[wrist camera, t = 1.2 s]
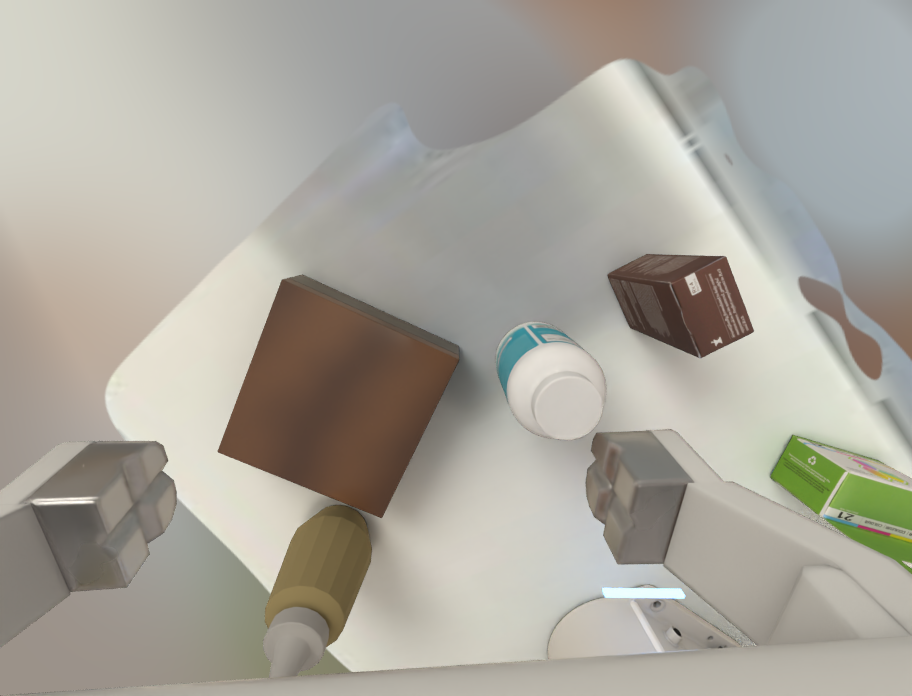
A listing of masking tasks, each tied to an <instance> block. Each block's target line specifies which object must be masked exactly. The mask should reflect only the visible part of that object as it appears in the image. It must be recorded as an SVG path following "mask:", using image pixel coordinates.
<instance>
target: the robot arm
mask: <svg viewBox="0 0 912 696" xmlns="http://www.w3.org/2000/svg"><path fill="white" fill-rule="evenodd" d="M591 451H592V453H593V455H594V457H595V458H596V461H595V462H594V463H593V464H592V465H591V466H590V467H589V468H588V469H587V476H586V495H587V500H588V503H589V507H590V509H591V511H592V513H593V516H594V517H595V518H596V519H598V520H599V521H600V522H602V523H603V524H605V528H604V533H603V536H604V538H605V540H606V542H607V544H608V546H609V548H610V550H611V552H612V554H613V556H614V558H615V560H616V562H617V564H664V565H663V566H664V567H665V568H666V569H667V570H669V571H670V572H671V573H672V574H673V575H675V576H676V577H677V578H678V579H679V580H681V581H682V582H683V583H684V584H685V585H686V586H688V587H689V588H690V589H691V590H692V591H694V592H695V593H696V594H697V595H698V596H700V597H701V598H702V599H703V600H704V601H705V602H707V603H708V604H709V605H710V606H711V607H713V608H714V609H715V610H716V611H717V612H719V613H720V614H721V615H722V616H723V617H724V618H726V619H727V620H728V621H729V622H730V623H732V624H733V625H734V626H735V627H736V628H738V629H739V630H740V631H741V632H742V633H743V634H745V635H746V636H747V637H748V638H749V639H751V640H752V641H753V642H754V643H755V644H757V645H758V646H746V647H741V646H740V644H739V643H738V642H736V641H735V640H733V639H732V638H730V637H729V636H727V635H726V634H725V633H723V632H722V631H720V630H719V629H717V628H716V627H714V626H713V625H711V624H710V623H708V622H707V621H705V620H704V619H702V618H701V617H699V616H698V615H696V614H695V613H693V612H692V611H690V610H689V609H687V608H686V607H684V606H683V605H681V604H680V603H678V602H677V601H675V600H674V599H672V598H685V595H684V593H683V592H682V590H681V589H657V588H656V587H654V586H652V585H643V586H640V587H638V588H602V591H603V594H604V596H605V598H600V599H596V600H592V601H589V602H587V603H585V604H582V605H580V606H579V607H577V608H575V609H574V610H572V611H571V612H569V613H568V614H567V615H566V616H565V617H564V618H563V619H562V620H561V621H560V622H559V623H558V624H557V626H556V627H555V629H554V631H553V633H552V635H551V637H550V640H549V644H548V660H533V661H517V662H502V663H487V664H472V665H457V666H441V667H426V668H411V669H396V670H381V671H366V672H350V673H335V674H320V675H305V676H290V677H275V678H259V679H244V680H230V681H213V682H198V683H183V684H168V685H153V686H137V687H122V688H106V689H91V690H76V691H62V692H47V693H46V692H45V693H30V694H16V695H0V696H912V574H911V573H910V572H908V571H907V570H906V569H905V568H904V567H903V566H901V565H900V564H899V563H898V562H897V561H895V560H894V559H892V558H890V557H888V556H886V555H883V554H881V553H879V552H877V551H875V550H873V549H871V548H869V547H867V546H865V545H863V544H861V543H859V542H857V541H854V540H852V539H850V538H848V537H846V536H844V535H842V534H840V533H838V532H836V531H834V530H832V529H830V528H827V527H825V526H823V525H821V524H819V523H817V522H815V521H813V520H811V519H809V518H807V517H805V516H803V515H801V514H798V513H796V512H794V511H792V510H790V509H788V508H786V507H784V506H782V505H780V504H778V503H776V502H774V501H771V500H769V499H767V498H765V497H763V496H761V495H759V494H757V493H755V492H753V491H751V490H749V489H747V488H745V487H742V486H740V485H738V484H736V483H734V482H724V481H723V480H722V479H721V478H720V477H719V476H718V475H717V474H716V473H715V471H714V470H713V469H712V468H711V467H710V466H709V465H708V464H707V463H706V462H705V461H704V460H703V459H702V458H701V457H700V456H699V455H698V454H697V453H696V451H695V450H694V449H693V448H692V447H691V446H690V445H689V444H688V443H687V442H686V441H685V440H684V439H683V438H682V437H681V436H680V435H679V434H678V432H676V431H673V430H671V429H664V430H646V431H632V432H605V433H596V435H595V437H594V439H593V442H592V447H591ZM167 462H168V458H167V455H166V452H165V449H164V446H163V445H162V444H160V443H158V442H156V441H98V442H95V441H81V442H67V443H63V444H58V445H57V446H56V447H55V448H53V449H52V450H51V451H50V452H48V453H47V454H46V455H45V456H44V457H42V458H41V459H40V460H38V461H37V462H36V463H35V464H33V465H32V466H31V467H30V468H29V469H27V470H26V471H25V472H23V473H22V474H21V475H20V476H18V477H17V478H16V479H15V480H13V481H12V482H11V483H10V484H8V485H7V486H6V487H5V488H3V489H2V490H1V491H0V648H1V647H2V646H3V645H5V644H6V643H7V642H9V641H10V640H11V639H13V638H14V637H15V636H17V635H18V634H19V633H21V632H22V631H23V630H25V629H26V628H27V627H28V626H30V625H31V624H32V623H34V622H35V621H36V620H38V619H39V618H40V617H42V616H43V615H44V614H46V613H47V612H48V611H50V610H51V609H52V608H54V607H55V606H56V605H58V604H59V603H60V602H62V601H63V600H64V599H65V598H67V597H68V596H69V595H70V592H75V591H87V590H88V591H89V590H102V589H114V588H127V587H128V586H129V584H130V583H131V581H132V580H133V578H134V577H135V575H136V574H137V572H138V571H139V569H140V568H141V566H142V565H143V563H144V562H145V560H146V559H147V557H148V556H149V555H150V552H149V548H148V543H150V542H151V541H153V540H154V539H156V538H157V537H159V536H160V535H162V534H163V533H164V532H165V530H166V528H167V527H168V526H169V524H170V522H171V521H172V518H173V515H174V511H175V508H176V504H177V492H176V487H175V483H174V480H173V479H172V478H170V477H169V476H168V475H167V474H166V473H164V472H163V471H162V470H163V468H164V467H165V465H166V463H167ZM656 601H657V602H656Z"/></svg>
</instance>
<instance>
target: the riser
mask: <svg viewBox="0 0 912 696" xmlns="http://www.w3.org/2000/svg"><path fill="white" fill-rule="evenodd" d="M458 361H459V346H458V345H455V344H453V343H451V342H449V341H447V340H445V339H442V338H440V337H438V336H436V335H434V334H431V333H429V332H427V331H425V330H423V329H420V328H418V327H416V326H414V325H412V324H409V323H407V322H405V321H403V320H401V319H398V318H396V317H394V316H392V315H390V314H388V313H385V312H383V311H381V310H379V309H377V308H374V307H372V306H370V305H368V304H366V303H363V302H361V301H359V300H357V299H355V298H352V297H350V296H348V295H346V294H344V293H341V292H339V291H337V290H335V289H333V288H331V287H328V286H326V285H324V284H322V283H320V282H317V281H315V280H313V279H311V278H309V277H306V276H304V275H299V276H295V277H290V278H287V279H282V281H281V283H280V286H279V289H278V291H277V294H276V297H275V300H274V302H273V305H272V308H271V310H270V313H269V316H268V318H267V321H266V324H265V326H264V329H263V332H262V334H261V337H260V340H259V342H258V345H257V348H256V350H255V353H254V356H253V358H252V361H251V364H250V366H249V369H248V372H247V374H246V377H245V380H244V382H243V385H242V388H241V390H240V393H239V396H238V398H237V401H236V404H235V406H234V409H233V412H232V414H231V417H230V420H229V422H228V425H227V428H226V430H225V433H224V436H223V438H222V441H221V444H220V446H219V449H218V452H219V453H221V454H224V455H226V456H229V457H231V458H234V459H236V460H239V461H241V462H243V463H246V464H248V465H251V466H253V467H256V468H258V469H261V470H263V471H266V472H268V473H271V474H273V475H276V476H278V477H281V478H283V479H286V480H288V481H291V482H293V483H296V484H298V485H301V486H303V487H306V488H308V489H311V490H313V491H315V492H318V493H320V494H323V495H325V496H328V497H330V498H333V499H335V500H338V501H340V502H343V503H345V504H348V505H350V506H353V507H355V508H358V509H360V510H363V511H365V512H368V513H370V514H373V515H375V516H378V517H380V518H382V517H383V515H384V513H385V511H386V509H387V507H388V505H389V502H390V500H391V498H392V496H393V494H394V492H395V490H396V488H397V486H398V484H399V482H400V480H401V478H402V476H403V474H404V472H405V470H406V468H407V466H408V464H409V462H410V460H411V457H412V455H413V453H414V451H415V449H416V447H417V445H418V443H419V441H420V439H421V437H422V435H423V433H424V431H425V429H426V427H427V425H428V423H429V421H430V419H431V417H432V415H433V412H434V410H435V408H436V406H437V404H438V402H439V400H440V398H441V396H442V394H443V392H444V390H445V388H446V386H447V384H448V382H449V380H450V378H451V376H452V374H453V372H454V370H455V368H456V365H457V363H458Z"/></svg>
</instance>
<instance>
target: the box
mask: <svg viewBox="0 0 912 696" xmlns="http://www.w3.org/2000/svg"><path fill="white" fill-rule="evenodd" d="M608 278H609V280H610V283H611V285H612V288H613V290H614V292H615V294H616V297H617V299H618V301H619V304H620V306H621V308H622V310H623V313H624V315H625V317H626V319H627V322H628V324H629V326H630V328H632V329H634V330H636V331H638V332H641V333H643V334H645V335H648V336H650V337H652V338H655V339H657V340H659V341H662V342H664V343H666V344H669V345H671V346H673V347H675V348H678V349H680V350H682V351H685V352H686V353H689V354H692V355H694V356H696V357H698V358H702V357H704V356H706V355H708V354H710V353H712V352H714V351H716V350H718V349H720V348H722V347H724V346H726V345H729V344H731V343H733V342H735V341H737V340H739V339H741V338H743V337H745V336H747V335H749V334H751V333H752V332H754V330H753V327H752V324H751V322H750V319H749V316H748V314H747V311H746V308H745V305H744V303H743V300H742V298H741V295H740V292H739V290H738V287H737V284H736V282H735V279H734V276H733V274H732V271H731V269H730V266H729V263H728V261H727V258H726V257H725V256H691V255H656V254H646V255H644V256H642V257H640V258H638V259H636V260H634V261H632V262H630V263H628V264H627V265H624V266H622V267H621V268H619V269H617V270H615V271H613V272H611V273H609V274H608Z"/></svg>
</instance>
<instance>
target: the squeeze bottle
mask: <svg viewBox="0 0 912 696" xmlns="http://www.w3.org/2000/svg"><path fill="white" fill-rule="evenodd" d="M371 552H372V547H371V543H370V538H369V533H368V529H367V526H366V523H365V520H364V518H363V517H362V516H361V515H360V514H359V513H358V512H357V511H356V510H354V509H352V508H350V507H348V506H341V505H334V506H330V507H326V508H324V509H323V510H322V511H320V512H319V513H317V514H316V515H315V516H313V517H312V518H311V519H309V520H308V521H307V522H305V523H304V524H303V525H301V526H300V527H299V528H298V529H297V531H296V532H295V534H294V536H293V538H292V540H291V542H290V545H289V547H288V550H287V553H286V555H285V558H284V561H283V563H282V566H281V569H280V571H279V574H278V576H277V579H276V582H275V584H274V587H273V590H272V592H271V595H270V598H269V601H268V603H267V606H266V608H265V623H266V625H267V627H268V631H267V633H266V635H265V637H264V639H263V649H264V652H265V654H266V656H267V658H268V660H270V661H271V662H272V665H271V670H270V675H269V678H275V677H290V676H297V674H298V673H299V671H303V670H308V669H310V668H312V667H313V666H315V665H316V664H318V663H319V661H320V660H321V658H322V656H323V654H324V651H325V648H326V647H327V646H329V645H330V644H332V643H333V642H335V641H336V640H337V639H338V637H339V635H340V634H341V632H342V631H343V629H344V626H345V624H346V621H347V619H348V616H349V614H350V612H351V609H352V607H353V604H354V602H355V599H356V597H357V594H358V592H359V589H360V587H361V585H362V582H363V580H364V577H365V575H366V572H367V570H368V567H369V565H370V562H371Z"/></svg>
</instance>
